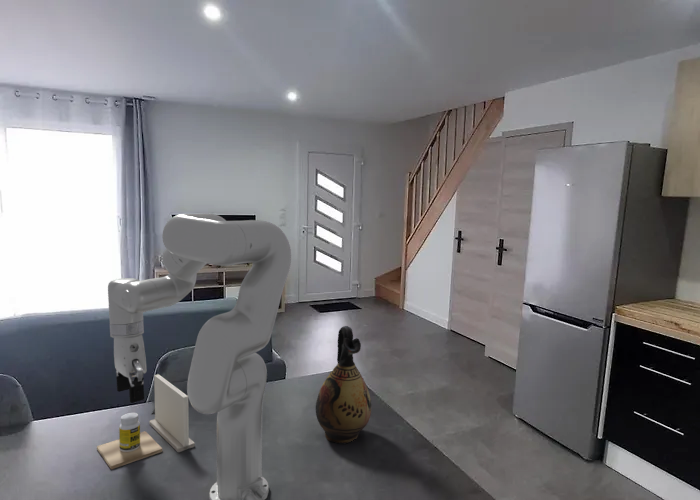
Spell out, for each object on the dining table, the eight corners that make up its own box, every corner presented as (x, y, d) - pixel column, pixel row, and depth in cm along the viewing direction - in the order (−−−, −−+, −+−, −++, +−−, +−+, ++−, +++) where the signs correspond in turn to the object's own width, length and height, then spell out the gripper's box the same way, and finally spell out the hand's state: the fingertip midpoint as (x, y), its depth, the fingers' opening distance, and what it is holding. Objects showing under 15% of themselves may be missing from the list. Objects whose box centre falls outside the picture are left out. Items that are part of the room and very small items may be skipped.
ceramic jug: (378, 445, 121) (381, 335, 118) (322, 453, 116) (324, 339, 113) (359, 416, 137) (361, 319, 134) (309, 422, 132) (310, 322, 130)
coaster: (162, 451, 115) (162, 448, 115) (111, 469, 107) (111, 466, 107) (145, 433, 124) (145, 431, 124) (96, 449, 116) (96, 446, 115)
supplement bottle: (131, 453, 112) (131, 421, 112) (115, 451, 113) (114, 419, 112) (144, 444, 117) (143, 412, 116) (128, 441, 118) (127, 410, 117)
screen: (194, 446, 118) (194, 394, 117) (178, 452, 115) (177, 399, 114) (164, 419, 132) (164, 372, 131) (149, 424, 129) (148, 376, 128)
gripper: (155, 331, 109) (158, 401, 110) (131, 320, 121) (134, 382, 122) (122, 338, 103) (125, 410, 105) (100, 325, 116) (103, 390, 117)
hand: (130, 395), depth 114 cm, fingers open, 9 cm apart
